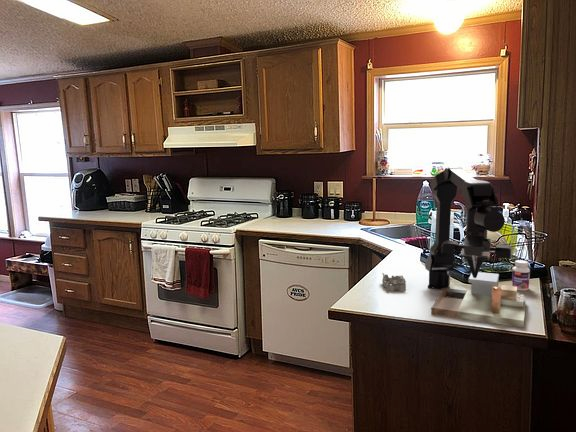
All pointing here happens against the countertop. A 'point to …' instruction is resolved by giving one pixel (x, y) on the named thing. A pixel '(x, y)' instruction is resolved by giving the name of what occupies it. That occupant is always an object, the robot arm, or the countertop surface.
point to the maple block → (508, 292)
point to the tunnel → (483, 283)
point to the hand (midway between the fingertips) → (474, 277)
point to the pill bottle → (521, 275)
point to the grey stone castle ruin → (394, 282)
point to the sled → (503, 300)
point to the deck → (476, 308)
